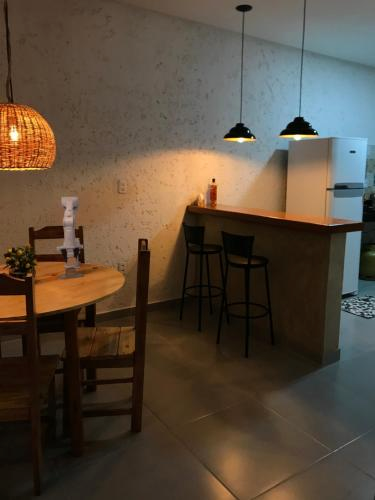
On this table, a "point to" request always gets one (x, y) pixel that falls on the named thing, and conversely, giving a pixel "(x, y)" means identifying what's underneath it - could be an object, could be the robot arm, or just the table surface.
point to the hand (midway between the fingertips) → (70, 261)
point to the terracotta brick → (71, 261)
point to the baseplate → (71, 276)
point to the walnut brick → (70, 271)
